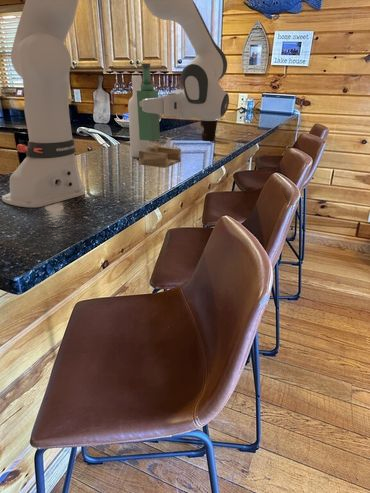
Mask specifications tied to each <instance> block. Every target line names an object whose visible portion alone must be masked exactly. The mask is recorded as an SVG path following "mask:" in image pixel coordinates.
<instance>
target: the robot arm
mask: <svg viewBox="0 0 370 493" xmlns="http://www.w3.org/2000/svg"><path fill="white" fill-rule="evenodd" d="M143 3H144V5H145V6H146V8H147V9H148V11H149V12H150V14H151V15H152V16H154V17H155V18H158V19H160V20H163V21H172V22H175V23H177V24H178V25H179V26H181V28H182V29H183V31H184V33H185V34H186V36H187V38H188V41H189V42H190V44H191V46H192V48H193V49H194V52H195V57H194V58H193V59H192V60H191V61H190V62H188V63H187V65H185V67H184V68H182V69H183V70H182V71H181V74H180V82H181V85H182V89H174V91H171V93H168V94H167V93H166V94H164V95H163V96H158V98H149V99H143V100H142V101H140V102H139V106H140V107H142V110H143V111H144V112H147V113H154V114H159V115H164V117H165V118H175V119H187V120H188V119H189V120H191V119H193V118H195V119H197V120H201V119H204V120H210V119H217V120H219V119H221V118H223V117H224V116H225V114H226V112H227V111H228V107H229V104H230V103H229V102H230V96H229V93H228V92H226V91H225V90H224V89H223V87H222V86H221V85H220V84H219V81H220V80H221V79H222V78H224V76H225V74H226V73H227V70H228V60H227V57H226V55H225V53H224V51H223V50H222V49H221V48H220V47H219V46H218V45H217V43H216V42H215V41H214V39H213V37H212V35H211V34H210V30H209V28H208V27H207V25H206V22H205V20H204V18H203V17H202V15H201V12H200V10H199V9H198V7H197V5H196V3H195V2H194V0H143ZM78 5H79V0H25V2H24V5H23V9H22V11H21V16H20V19H19V21H18V25H17V28H16V32H15V36H14V40H13V44H12V47H11V52H10V60H11V63H12V66H13V69H14V70H15V72H16V74H18V76H19V77H20V78H22V84H23V98H24V99H23V100H24V101H23V102H24V103H23V104H24V108H23V112H24V117H25V123H26V128H27V133H28V139H29V140H28V141H27V145H26V144H21V143H19V144H17V146H16V150H17V151H18V153H25V155H26V157H25V158H24V159H23V161H22V162H21V163H20V164H19V165H18V166H17V168H16V169H15V170H14V171H13V173H11V175H10V177H9V182H8V183H9V192H8V193H6V194H4V195H1V200H2V202H4V203H5V204H8V205H12V206H16V207H21V208H22V207H23V208H41V207H45V206H48V205H51V204H52V205H53V204H56V203H60V202H62V201H65V200H70V199H73V198H76V197H80V196H81V197H82V196H84V195H86V192H85V186H84V184H83V181H82V178H81V176H80V170H79V167H78V162H77V158H76V156H75V154H76V151H77V150H76V144H75V140H74V138H73V134H72V125H71V118H70V108H69V105H70V104H69V102H70V98H69V97H70V71H71V67H72V66H71V65H72V57H71V53H70V51H69V49H68V47H67V46H66V45H65V44H64V43H65V41H66V39H67V36H68V34H69V31H70V29H71V27H72V25H73V24H74V21H75V16H76V12H77V9H78Z"/></svg>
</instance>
